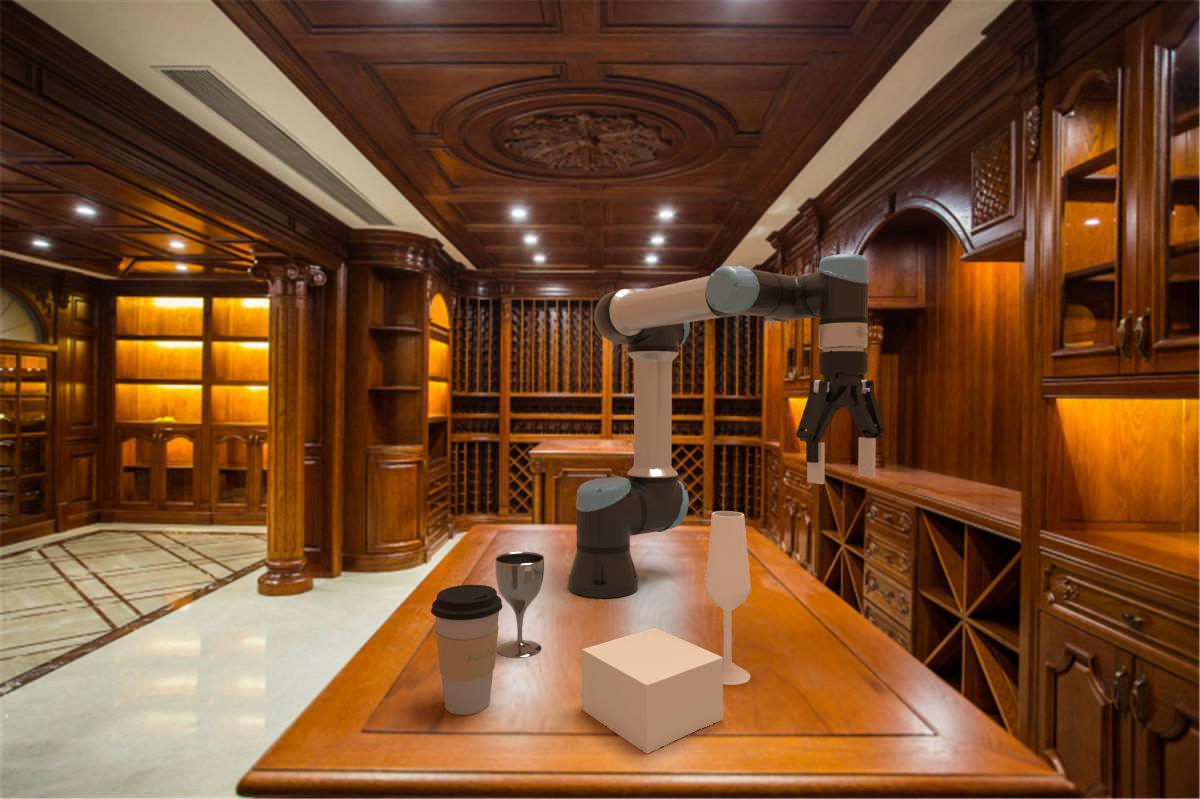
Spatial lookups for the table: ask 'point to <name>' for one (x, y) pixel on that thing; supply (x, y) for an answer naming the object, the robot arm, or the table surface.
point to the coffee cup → (467, 645)
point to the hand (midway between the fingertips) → (842, 479)
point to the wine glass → (519, 594)
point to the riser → (652, 687)
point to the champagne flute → (728, 579)
